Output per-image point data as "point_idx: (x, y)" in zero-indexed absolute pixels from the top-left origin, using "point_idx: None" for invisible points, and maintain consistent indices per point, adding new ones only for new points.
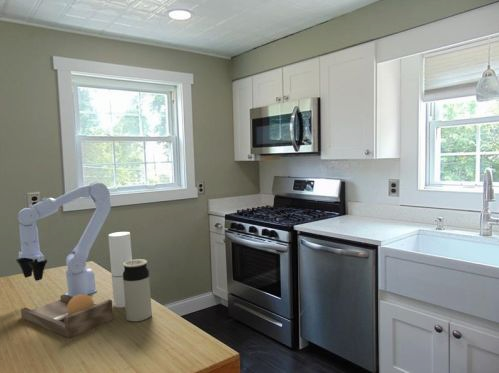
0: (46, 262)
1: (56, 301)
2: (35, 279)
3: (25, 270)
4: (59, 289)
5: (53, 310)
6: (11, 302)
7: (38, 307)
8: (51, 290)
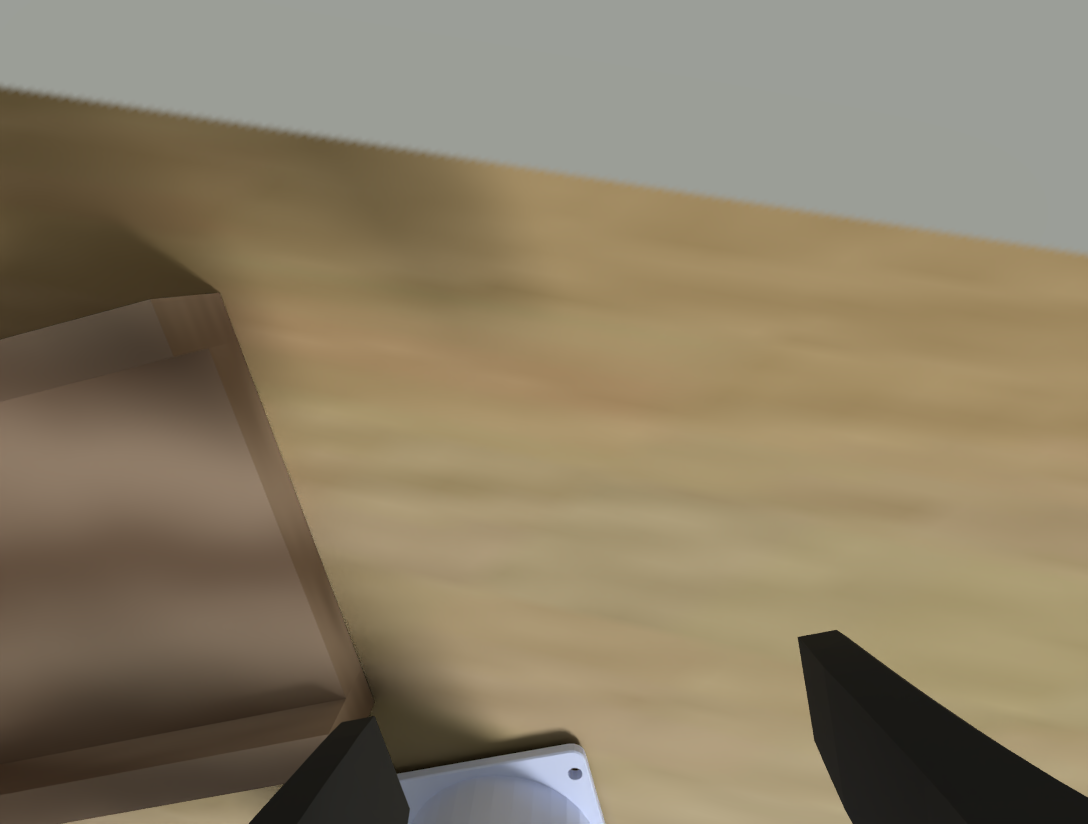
0: None
1: (319, 656)
2: (329, 738)
3: (903, 795)
4: None
5: (55, 567)
6: (874, 303)
7: (261, 481)
8: None
